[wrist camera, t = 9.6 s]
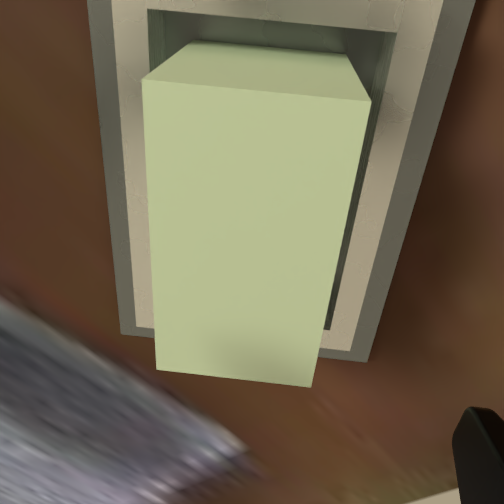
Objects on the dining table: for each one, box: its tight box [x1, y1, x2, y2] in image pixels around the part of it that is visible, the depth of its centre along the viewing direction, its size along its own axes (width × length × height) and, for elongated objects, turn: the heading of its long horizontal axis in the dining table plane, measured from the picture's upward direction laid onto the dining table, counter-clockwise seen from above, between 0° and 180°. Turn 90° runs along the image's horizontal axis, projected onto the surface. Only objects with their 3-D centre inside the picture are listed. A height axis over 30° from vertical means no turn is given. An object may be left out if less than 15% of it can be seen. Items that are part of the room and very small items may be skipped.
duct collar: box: [87, 0, 476, 363], centre depth 17 cm, size 18×12×2 cm, turn 175°
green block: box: [141, 40, 371, 387], centre depth 15 cm, size 5×9×6 cm, turn 176°
